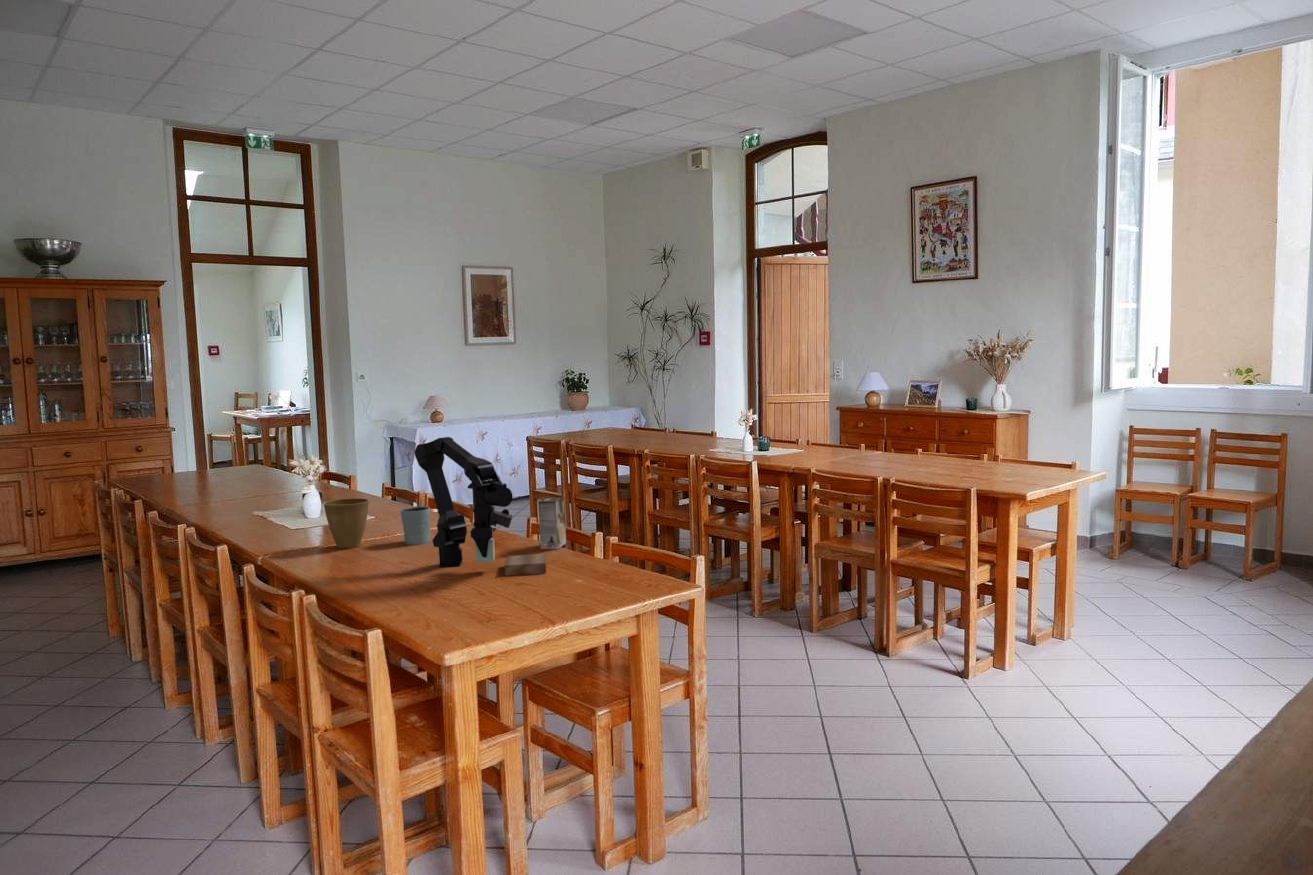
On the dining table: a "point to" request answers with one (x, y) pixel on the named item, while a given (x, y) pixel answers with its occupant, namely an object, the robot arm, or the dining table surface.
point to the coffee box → (552, 522)
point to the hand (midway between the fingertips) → (485, 555)
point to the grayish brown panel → (525, 564)
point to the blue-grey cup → (416, 525)
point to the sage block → (490, 553)
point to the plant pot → (347, 520)
